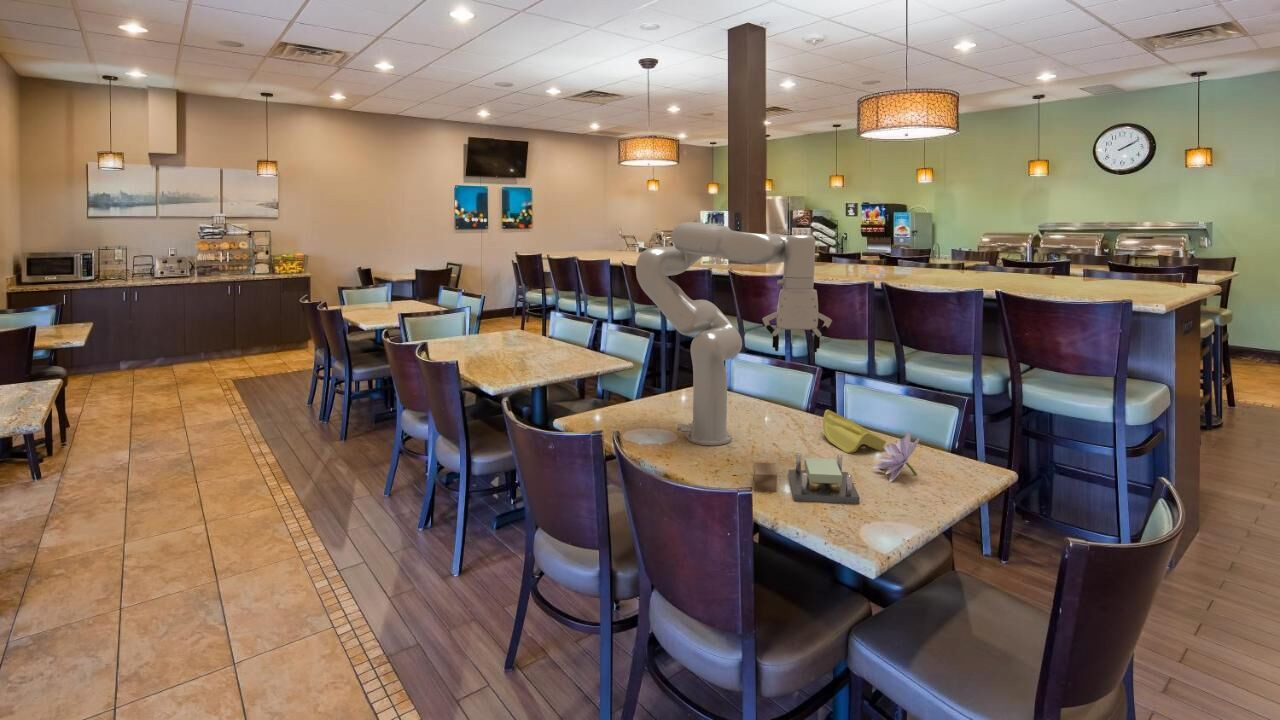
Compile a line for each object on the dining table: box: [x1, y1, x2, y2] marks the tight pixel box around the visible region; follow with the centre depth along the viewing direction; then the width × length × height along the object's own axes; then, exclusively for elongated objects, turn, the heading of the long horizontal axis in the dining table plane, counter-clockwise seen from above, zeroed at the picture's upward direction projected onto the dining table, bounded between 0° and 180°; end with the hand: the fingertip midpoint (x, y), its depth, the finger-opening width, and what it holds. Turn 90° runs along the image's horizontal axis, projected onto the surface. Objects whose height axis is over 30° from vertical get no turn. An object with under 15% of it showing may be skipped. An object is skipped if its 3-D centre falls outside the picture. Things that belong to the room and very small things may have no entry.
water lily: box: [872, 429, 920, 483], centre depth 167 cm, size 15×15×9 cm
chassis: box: [787, 452, 861, 505], centre depth 158 cm, size 14×16×6 cm
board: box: [804, 457, 842, 484], centre depth 157 cm, size 7×11×2 cm, turn 172°
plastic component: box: [822, 409, 887, 454], centre depth 193 cm, size 20×7×10 cm
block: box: [752, 462, 778, 493], centre depth 161 cm, size 5×8×4 cm, turn 173°
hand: (795, 350), depth 176 cm, fingers open, 9 cm apart
